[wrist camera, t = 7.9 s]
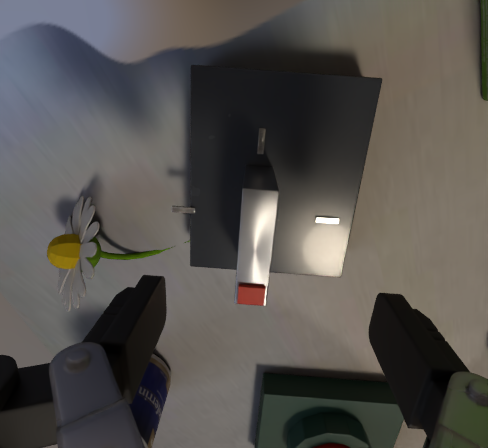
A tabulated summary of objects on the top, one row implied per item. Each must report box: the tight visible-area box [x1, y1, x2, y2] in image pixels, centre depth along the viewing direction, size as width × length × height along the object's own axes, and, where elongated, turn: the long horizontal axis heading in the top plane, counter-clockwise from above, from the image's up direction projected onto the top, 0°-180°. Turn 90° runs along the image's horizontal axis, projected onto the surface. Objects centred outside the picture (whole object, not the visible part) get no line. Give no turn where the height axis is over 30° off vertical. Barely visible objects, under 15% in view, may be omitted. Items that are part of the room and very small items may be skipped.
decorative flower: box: [47, 196, 190, 312], centre depth 22 cm, size 8×6×15 cm
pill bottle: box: [129, 354, 171, 448], centre depth 24 cm, size 6×6×10 cm
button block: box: [255, 373, 404, 448], centre depth 28 cm, size 12×10×4 cm
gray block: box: [234, 165, 279, 306], centre depth 17 cm, size 6×2×5 cm, turn 176°
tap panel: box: [172, 65, 382, 277], centre depth 20 cm, size 11×13×3 cm
